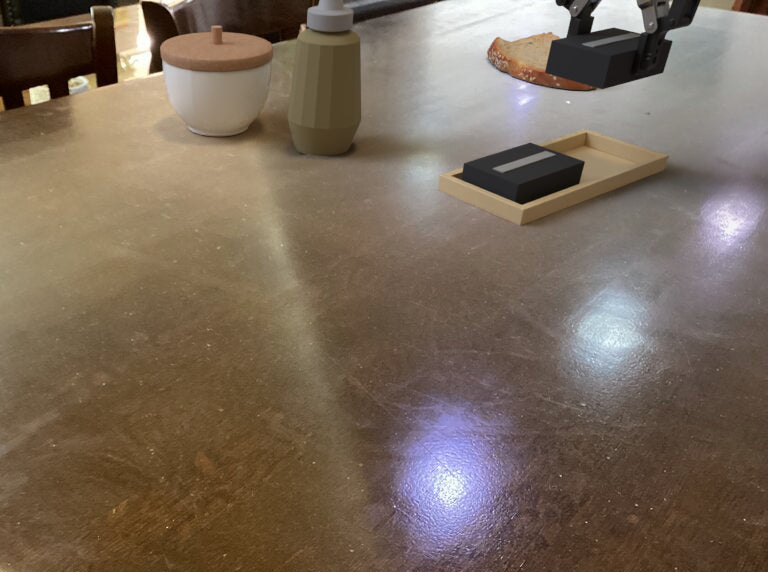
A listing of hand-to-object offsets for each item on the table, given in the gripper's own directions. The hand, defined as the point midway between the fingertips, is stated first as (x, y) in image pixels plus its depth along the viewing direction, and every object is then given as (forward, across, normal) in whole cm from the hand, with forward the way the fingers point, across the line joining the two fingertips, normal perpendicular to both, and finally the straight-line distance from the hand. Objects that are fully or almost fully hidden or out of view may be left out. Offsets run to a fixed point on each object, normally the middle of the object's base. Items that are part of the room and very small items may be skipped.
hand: (606, 64), depth 79 cm
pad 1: (+10, 0, +10) cm, 15 cm away
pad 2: (+1, 0, 0) cm, 1 cm away
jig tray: (+11, 0, +4) cm, 12 cm away
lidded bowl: (+11, +34, +22) cm, 42 cm away
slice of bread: (+11, +28, -30) cm, 43 cm away
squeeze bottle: (+11, +21, +18) cm, 29 cm away
